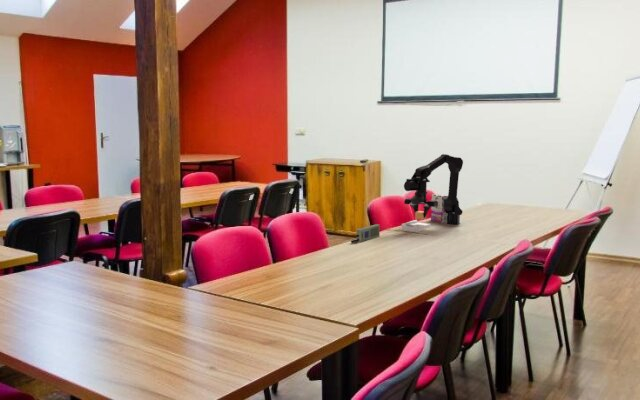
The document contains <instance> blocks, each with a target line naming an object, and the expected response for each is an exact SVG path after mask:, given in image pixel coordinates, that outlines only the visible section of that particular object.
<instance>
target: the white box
mask: <svg viewBox="0 0 640 400" xmlns="http://www.w3.org/2000/svg"><path fill="white" fill-rule="evenodd" d="M418 220H419V219H415V220H410V221H407V222H404V223H401V231H403V230H404V231H405V232H411V233H420V232H422V231H423V230H425V229H427V228H431V226H430V224H431V223H426V224H425V222H424V223H423V222H419V221H418ZM404 231H403V232H404Z"/></svg>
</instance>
